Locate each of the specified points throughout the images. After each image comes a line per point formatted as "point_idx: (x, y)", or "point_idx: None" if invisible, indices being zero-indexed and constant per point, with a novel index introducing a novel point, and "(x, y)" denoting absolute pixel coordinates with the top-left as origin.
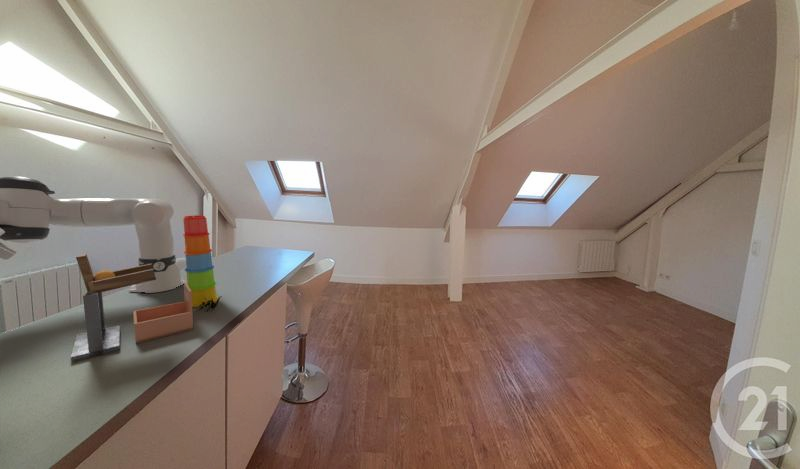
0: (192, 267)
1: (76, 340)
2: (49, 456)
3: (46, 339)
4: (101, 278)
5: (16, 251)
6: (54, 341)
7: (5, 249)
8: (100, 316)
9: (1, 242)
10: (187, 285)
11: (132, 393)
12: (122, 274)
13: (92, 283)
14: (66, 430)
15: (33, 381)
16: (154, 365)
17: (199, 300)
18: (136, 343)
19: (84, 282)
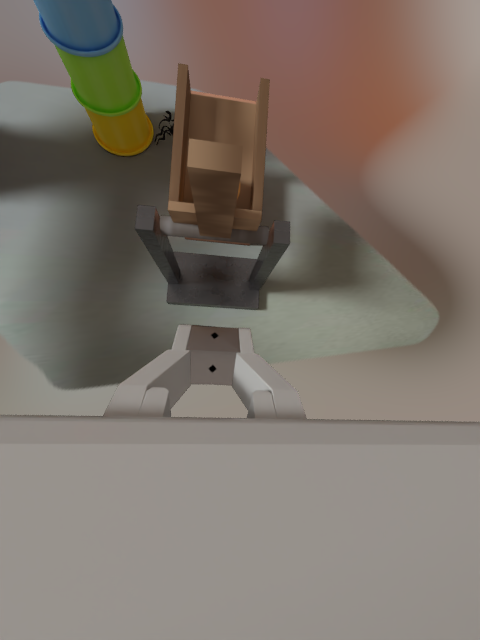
0: (99, 27)
1: (196, 302)
2: (434, 319)
3: (133, 340)
4: (238, 191)
5: (182, 324)
6: (153, 330)
7: (249, 351)
8: (175, 261)
9: (144, 380)
10: (218, 96)
11: (379, 263)
12: (184, 152)
13: (261, 213)
14: (406, 310)
15: (282, 341)
16: (331, 238)
17: (144, 130)
18: (249, 244)
19: (231, 227)
